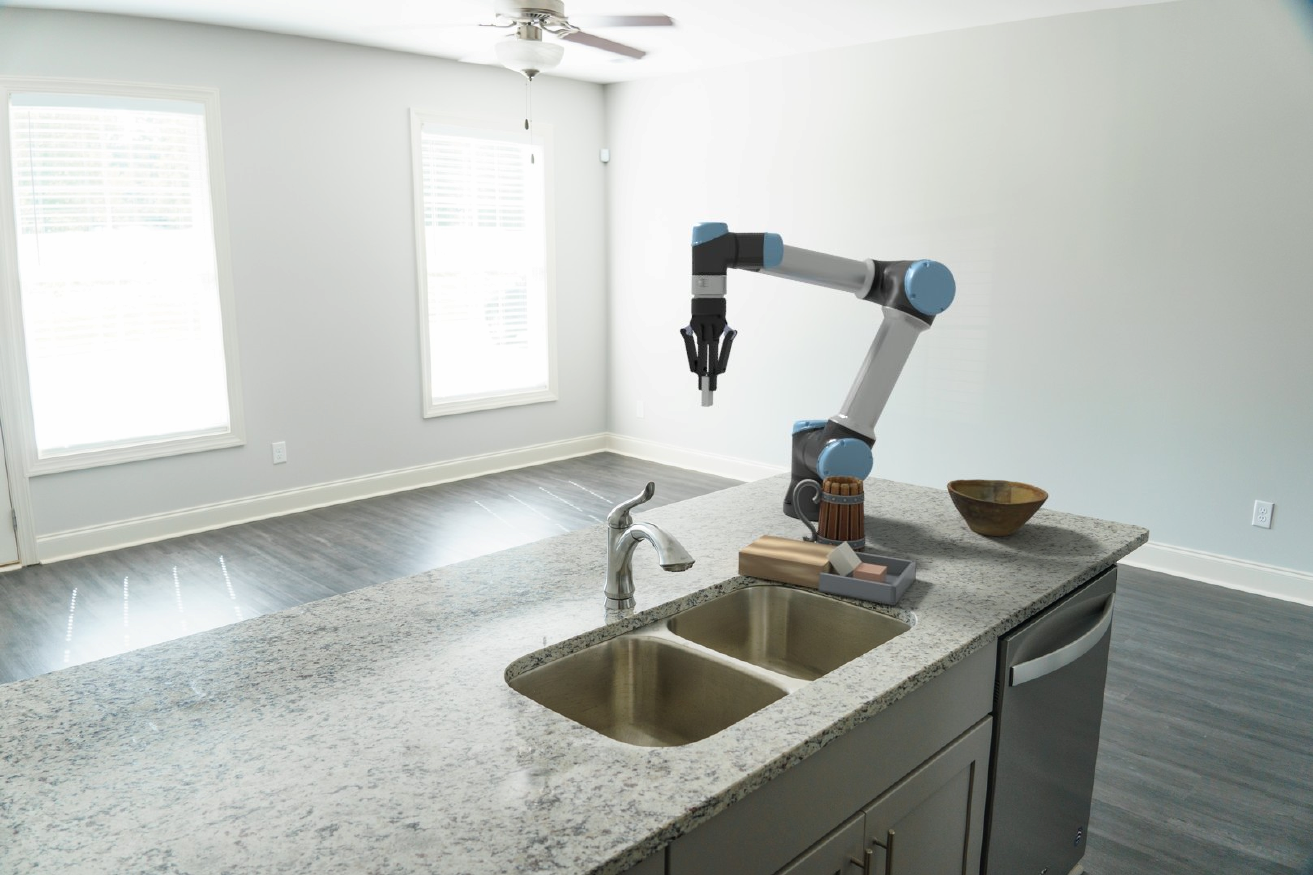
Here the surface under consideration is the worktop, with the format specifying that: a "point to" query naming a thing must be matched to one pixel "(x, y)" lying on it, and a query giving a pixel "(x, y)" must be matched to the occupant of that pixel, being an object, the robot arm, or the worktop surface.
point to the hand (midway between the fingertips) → (707, 405)
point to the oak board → (786, 560)
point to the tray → (888, 593)
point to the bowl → (995, 504)
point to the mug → (836, 512)
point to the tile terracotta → (870, 572)
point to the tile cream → (843, 559)
